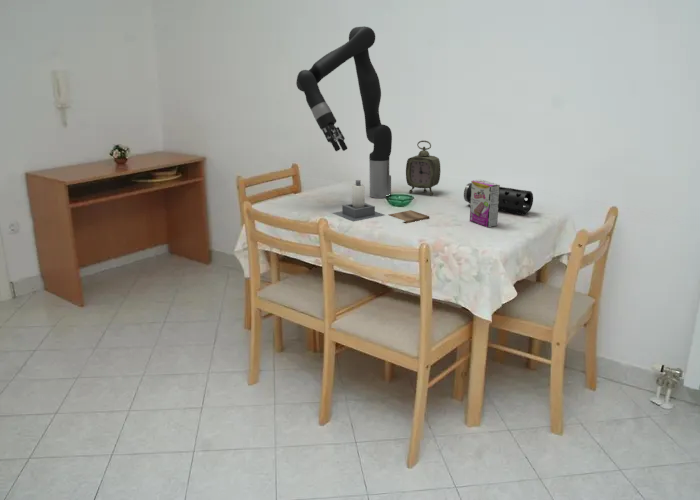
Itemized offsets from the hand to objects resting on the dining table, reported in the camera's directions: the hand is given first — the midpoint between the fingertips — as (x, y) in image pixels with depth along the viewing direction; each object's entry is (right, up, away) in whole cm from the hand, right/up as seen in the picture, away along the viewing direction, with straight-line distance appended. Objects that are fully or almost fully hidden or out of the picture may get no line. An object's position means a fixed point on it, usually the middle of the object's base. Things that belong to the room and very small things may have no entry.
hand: (341, 150), depth 246 cm
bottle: (+7, -27, -3) cm, 28 cm away
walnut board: (+27, -29, -6) cm, 40 cm away
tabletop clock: (+38, -15, +35) cm, 54 cm away
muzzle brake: (+66, -25, +4) cm, 70 cm away
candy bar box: (+55, -32, -16) cm, 66 cm away
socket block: (+7, -28, -2) cm, 29 cm away
